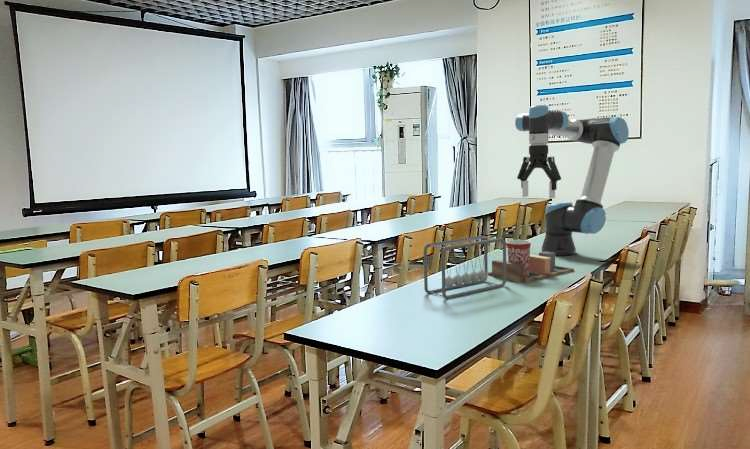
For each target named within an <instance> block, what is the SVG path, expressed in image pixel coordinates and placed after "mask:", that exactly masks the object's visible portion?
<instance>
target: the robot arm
mask: <svg viewBox="0 0 750 449" xmlns="http://www.w3.org/2000/svg"><path fill="white" fill-rule="evenodd" d="M528 110H529V111H528V113H527V112H524V113H520V114H517V116H516V117H515V121H514V126H515V128H516V129H517V131H519V132H528V144H529V145H528V155H529V156H523V158H522V164H521V166H520V169H519V172H518V174H517V176H516V179H517V180H520V182H521V185H520V187H521V189H522V192H521V193H522V198H525V197H529V180H528V178H529V177H530V176H531V174H532V172H534V169H542V171H543V172H544V173H545V174H546V176H547V177H548V178H549V180H550V181H549V183H548V193H549V194H548V199H555V198H556V190H557V185H558V184H557V182H558V181H561V180H562V177H561V175H560V172H559V169H558V167H557V164H556V161H555V156H548V154H549V145H548V144H549V135H552V136H557V137H558V136H559V137H564V138H567V139H568V140H570V141H575V142H579V143H583V144H589V145H591V146H592V147H593V152H592V156H591V160H590V163H589V166H588V170H587V173H586V176H585V181H584V184H583V187H582V192H581V196H580V197H579V198H578V199H576V200H575V204H574V205H573V203H572V202H561V203H560V202H558V203H550V204H547V205H546V206H545V213H544V215H545V220H544V221H545V224H544V225H545V226H544V227H545V234H544V235H545V236H544V238H543V239H544V240H543V242H542V246H541V252H545V251H547V252H554V253H555V256H571V255H572V256H573V255H575V254H577V250H576V248H577V247H576V245H575V242H574V239H573V233H579V234H585V235H588V234H589V235H590V234H591V235H594V234H595V235H596V234H597V233H600V232H601V230H603V228H604V225H605V223H606V220H607V217H606V211H605V209H604V205H603V204H602V202H601V201H602V199H603V194H604V191H605V188H606V184H607V180H608V176H609V173H610V169H611V165H612V161H613V158H614V154H615V153H616V152H618V151H619V149H620V146H621V145H623V144H625V143H626V142H627V141H628V138H629V127H628V124H627V121H626V120H625V119H624V118H622V117H621V116H619V117H618V116H611V117H600V118H599V117H598V118H597V117H596V118H595V117H594V118H586V119H577V118H576V119H571V120H570V119H569V118H570V117H569V115H568V114H567V112H565V111H562V110H549V106H548V105H542V104H541V105H532V106H530V107H529V109H528Z"/></svg>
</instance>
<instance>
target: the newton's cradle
mask: <svg viewBox="0 0 750 449" xmlns="http://www.w3.org/2000/svg"><path fill="white" fill-rule="evenodd" d="M471 241H472V242H471ZM499 242H502V261H503V278H502V282H501V283H499V284H498V283H494V282H490V281H488V276H489V275H488V266H489V265H488V244H492V243H499ZM458 243H460V244H458ZM454 244H456V245H454ZM445 245H446V246H445ZM480 245H484V247H483V249H484V252H483V253H484V254H483V262H482V265H483V267H482V265H481V264H479V265H480V270H479V271H477V272H476V270H472V272H470V273H468V272H464V273H463V274H462V275H460V273H457V274H456V275H454V276H453V277H451V275H447V276H446V271H447V273H451V271H452V268H449V269H450V270H448V268H446V265H448V263H447V262H448V261H447V259H446V257H447V254H446V252H447V251H451V250H452V252H455V249H461V251H460V254H461V256H464V252H463V248H468V249H469V250H468V251H469V252H468V254H469V255H472V252H471V247H475V246H477V249H476V253H477V255H476V256H475V257H476V258H475V260H477V259H479V262H481V261H480V260H481V259H480V257H478V255H480V253H479V246H480ZM431 247H435V248H438V249H439V248H440V249H442V250H441V253H440V254H441V288H436V289H432V290H431V289H430V290H429V288H428V283H429V282H428V248H431ZM477 257H478V258H477ZM453 258H456V255H455V253H452V255H451V259H453ZM467 259H468V260H467V262H469V260H471V262H473V259H472V257H470V256H468V258H467ZM459 260H460V261H459V262H461V260H462V261H463V263H465V261H464V258H462V257H460V259H459ZM506 261H507V242H506V240H505V238H502V237H501V238H500V237H499V238H496V237H491V236H490V237H489V236H485V235H477V236H476V235H475V236H470V237H463V238H457V239H450V240H444V241H436V242H431V243H427V244H425V246H424V248H423V280H424V281H423V284H424V288H423V289H424V292H425V293H426V294H428V295H432V294H433V295H436V296H440V297H443V298H444V299H446V300H451V299H454V298H459V297H462V296H463V297H465V296H467V295H472V294H476V293H480V292H485V291H491V290H494V289H499V288H503V287H504V286H505V285H506V284H507V279H506ZM454 263H455V265H457V262H456V260H454ZM452 264H453V261H451V263H450V266H453V265H452ZM471 265H472V266H471V267H472V269H474V268H476V267H477V263H475V265H474V266H473V264H471ZM468 266H469V264H467V266H465V265H463V268H464V270H468V269H469V267H468ZM465 267H466V268H465ZM458 268H459V269H458V270H457V267H455V269H456V270H455V271H456V272H458V271H460V268H461V265H459V267H458ZM446 269H447V270H446ZM483 283H485V284H489V285H490V284H491V285H490V286H485V287H482V288H477V289H473V290H472V289H471V290H467V291H463V292H459V293H453V294H449V295H447V294H446V291H450V290H455V289H459V288H464V287H469V286H474V285H479V284H483ZM440 293H441V294H440Z"/></svg>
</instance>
